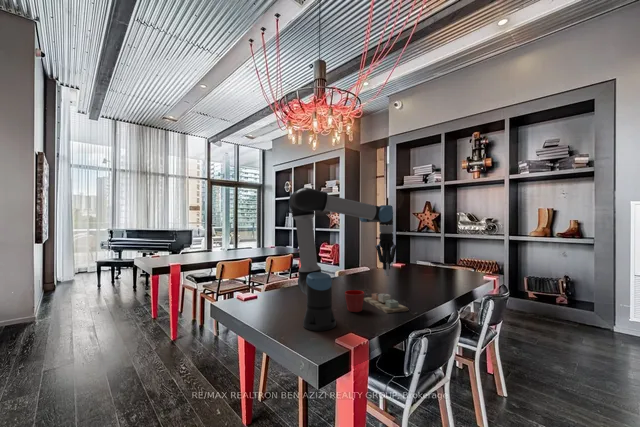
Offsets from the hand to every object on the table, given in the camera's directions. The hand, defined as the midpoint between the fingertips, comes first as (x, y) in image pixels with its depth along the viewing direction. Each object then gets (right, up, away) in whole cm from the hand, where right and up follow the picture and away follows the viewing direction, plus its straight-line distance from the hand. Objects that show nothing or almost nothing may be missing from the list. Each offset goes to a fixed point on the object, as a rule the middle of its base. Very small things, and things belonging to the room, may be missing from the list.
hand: (386, 275), depth 158 cm
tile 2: (+2, -17, -2) cm, 18 cm away
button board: (0, -18, +5) cm, 19 cm away
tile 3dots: (-2, -18, +13) cm, 22 cm away
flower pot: (-18, -18, -4) cm, 26 cm away
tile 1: (0, -16, +5) cm, 17 cm away
